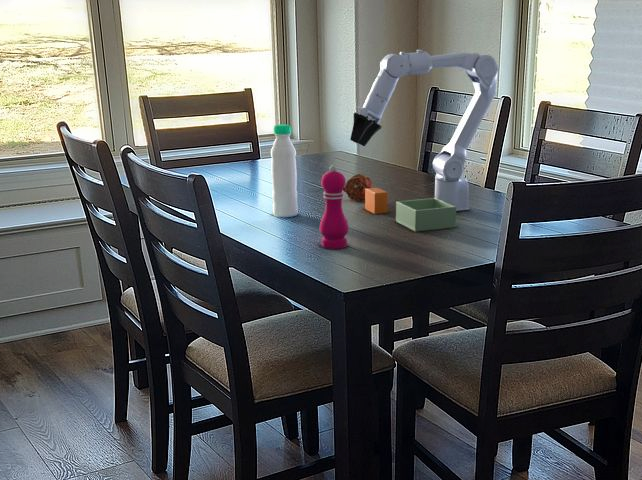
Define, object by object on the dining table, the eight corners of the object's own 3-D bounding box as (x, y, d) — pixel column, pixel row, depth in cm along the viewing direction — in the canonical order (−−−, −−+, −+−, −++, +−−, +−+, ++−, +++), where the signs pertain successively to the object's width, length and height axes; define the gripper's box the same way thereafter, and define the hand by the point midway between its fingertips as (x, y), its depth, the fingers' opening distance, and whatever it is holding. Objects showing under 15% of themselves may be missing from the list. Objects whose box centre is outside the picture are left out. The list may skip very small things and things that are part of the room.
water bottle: (301, 213, 245) (299, 123, 235) (291, 218, 239) (288, 127, 229) (279, 211, 247) (276, 122, 237) (269, 216, 241) (265, 126, 231)
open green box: (434, 217, 241) (435, 197, 239) (455, 227, 230) (456, 206, 228) (395, 221, 236) (396, 201, 234) (415, 231, 226) (415, 210, 224)
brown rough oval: (360, 209, 256) (353, 206, 268) (382, 191, 256) (374, 189, 268) (343, 187, 254) (336, 185, 265) (365, 169, 254) (357, 167, 265)
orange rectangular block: (377, 207, 252) (377, 187, 250) (387, 212, 246) (387, 192, 244) (365, 208, 250) (365, 188, 248) (374, 214, 244) (374, 193, 242)
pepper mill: (319, 242, 216) (317, 162, 208) (347, 241, 216) (347, 162, 209) (320, 249, 209) (318, 167, 201) (349, 249, 210) (349, 167, 202)
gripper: (373, 95, 240) (352, 140, 243) (359, 86, 226) (337, 133, 230) (394, 106, 239) (373, 150, 242) (382, 97, 225) (359, 145, 228)
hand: (357, 143), depth 236 cm, fingers open, 7 cm apart
